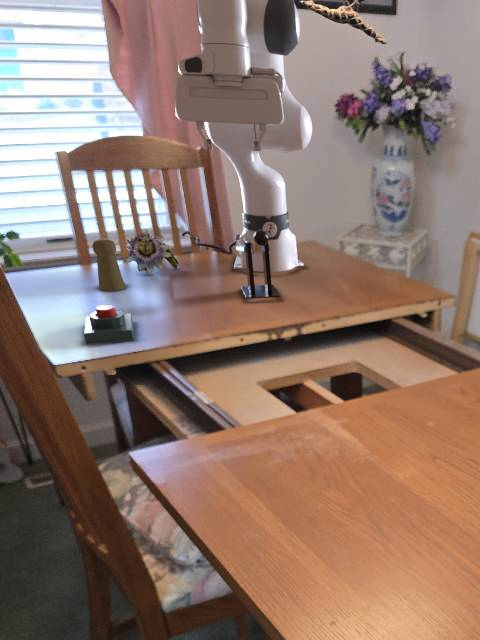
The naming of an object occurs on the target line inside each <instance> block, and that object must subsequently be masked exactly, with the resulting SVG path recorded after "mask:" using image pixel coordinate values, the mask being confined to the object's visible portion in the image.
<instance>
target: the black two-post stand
mask: <svg viewBox="0 0 480 640" xmlns="http://www.w3.org/2000/svg"><path fill="white" fill-rule="evenodd" d="M244 244H245V245H244V246H243V249H244V252H245V255H246V266H247V269H246V276H247V285H243V286H242V285H241V286H240V289H241V290H242V293H243V295H244V297H245V299H246V300H248V299H250V300H251V299H265V298H281V295H280V293H279V292H278V290H277V288H276V286H275V285H274V284H272V275H271V274H272V272H271V271H270V258H269V251H270V245H269V244H268V242H267V244H266V245H263V246H262V250H263V253H262V255H263V267H264V272H263V278H264V285H263V284H262V285H261V284H260V285H255V275H254V273H255V272H254V271H253V262H252V250H251V242H250V241H249V239H248V238H244Z"/></svg>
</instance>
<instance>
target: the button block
mask: <svg viewBox="0 0 480 640" xmlns="http://www.w3.org/2000/svg"><path fill="white" fill-rule="evenodd" d="M115 312H116V316H113V317H107V318H100V317H97V312H96V310H95V311H92V312H90V313H89V315H86V316H85V323H84V329H83V336H84V341H85V344H86V345H89V344H90V345H91V344H105V343H116V342H117V343H119V342H131V341H132V342H133V341H135V339H134V337H135V336H134V320H133V316H132V313H125V312H124V311H123V310H120V309H115Z"/></svg>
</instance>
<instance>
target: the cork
mask: <svg viewBox="0 0 480 640" xmlns="http://www.w3.org/2000/svg"><path fill="white" fill-rule="evenodd" d="M92 250H93V253H94V254H95V255H96V263H97V264H96V265H97V276H98V289H99V290H100V291H104V292H114V291H121V290H123V289H125V288H126V284H125V282H124V281H125V280H124V279H123V278H124V277H123V275H122V273H121V272H122V271H121V269H120V266H119V262H118V260H117V257H116V252H117V246H116V242H114V240H112V239H109V238H98V239H95V240H93V242H92Z"/></svg>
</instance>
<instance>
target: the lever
mask: <svg viewBox="0 0 480 640" xmlns="http://www.w3.org/2000/svg"><path fill="white" fill-rule="evenodd" d="M268 239H269V238H268V234H267V233H266V232H265V231H263V230H258V231H256V232H255V234H254V241H255V242H252V243H251V250H252V255H262V253H263V250H262V246H263V245H266V244H267V242H268Z"/></svg>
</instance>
